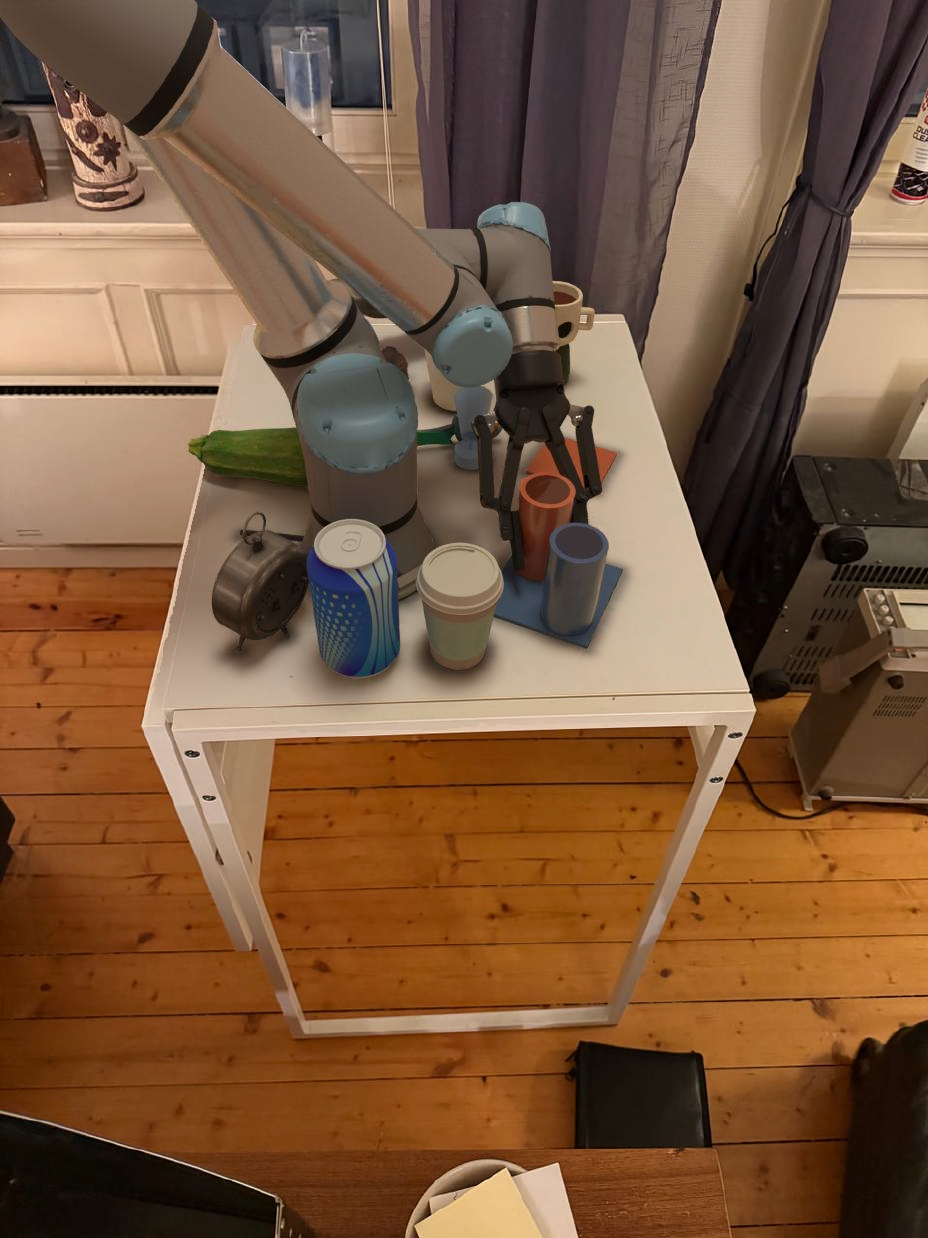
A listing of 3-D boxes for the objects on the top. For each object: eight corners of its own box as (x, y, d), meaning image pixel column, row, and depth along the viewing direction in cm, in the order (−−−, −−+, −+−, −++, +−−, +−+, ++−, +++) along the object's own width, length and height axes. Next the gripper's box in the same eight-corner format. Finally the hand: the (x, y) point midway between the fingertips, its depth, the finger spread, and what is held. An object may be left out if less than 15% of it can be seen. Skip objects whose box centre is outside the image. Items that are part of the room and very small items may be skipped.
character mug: (508, 386, 125) (515, 302, 116) (512, 360, 130) (519, 277, 121) (584, 393, 125) (596, 309, 115) (585, 366, 130) (597, 283, 120)
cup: (466, 428, 119) (468, 357, 111) (406, 405, 122) (404, 334, 114) (502, 394, 124) (507, 324, 116) (444, 373, 128) (445, 303, 120)
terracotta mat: (525, 473, 113) (525, 470, 112) (549, 435, 118) (549, 433, 118) (595, 493, 110) (596, 491, 110) (616, 454, 116) (617, 452, 115)
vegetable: (332, 481, 103) (170, 469, 105) (344, 496, 111) (192, 484, 112) (338, 422, 104) (177, 410, 106) (350, 440, 111) (199, 429, 113)
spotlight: (452, 440, 117) (452, 472, 112) (454, 375, 109) (453, 407, 105) (489, 441, 117) (490, 473, 112) (493, 376, 109) (494, 408, 105)
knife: (499, 435, 118) (501, 403, 114) (503, 443, 117) (506, 412, 113) (354, 454, 114) (351, 423, 110) (357, 463, 113) (354, 432, 109)
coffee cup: (500, 623, 95) (507, 542, 86) (494, 684, 89) (501, 604, 80) (423, 615, 95) (422, 534, 86) (412, 676, 90) (410, 596, 81)
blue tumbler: (531, 625, 94) (540, 551, 86) (550, 589, 98) (561, 515, 90) (583, 643, 93) (598, 569, 85) (600, 606, 96) (616, 532, 88)
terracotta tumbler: (504, 571, 100) (511, 497, 91) (523, 539, 103) (531, 465, 95) (553, 587, 98) (564, 513, 90) (570, 554, 102) (583, 480, 94)
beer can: (416, 655, 92) (414, 544, 80) (355, 699, 87) (343, 588, 76) (365, 612, 95) (356, 500, 84) (304, 652, 91) (285, 540, 80)
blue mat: (479, 611, 96) (479, 608, 96) (521, 539, 104) (522, 536, 104) (586, 648, 93) (587, 646, 93) (622, 571, 101) (623, 568, 101)
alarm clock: (287, 589, 97) (267, 474, 85) (325, 608, 96) (310, 494, 84) (220, 651, 91) (188, 538, 79) (260, 673, 89) (233, 560, 77)
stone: (376, 401, 123) (411, 401, 124) (376, 388, 121) (412, 388, 122) (371, 354, 130) (405, 355, 130) (372, 341, 128) (406, 341, 128)
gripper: (598, 358, 100) (618, 558, 101) (436, 371, 97) (459, 576, 99) (620, 340, 92) (641, 556, 94) (445, 354, 90) (470, 576, 91)
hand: (548, 566), depth 96 cm, fingers closed on terracotta tumbler, 6 cm apart
